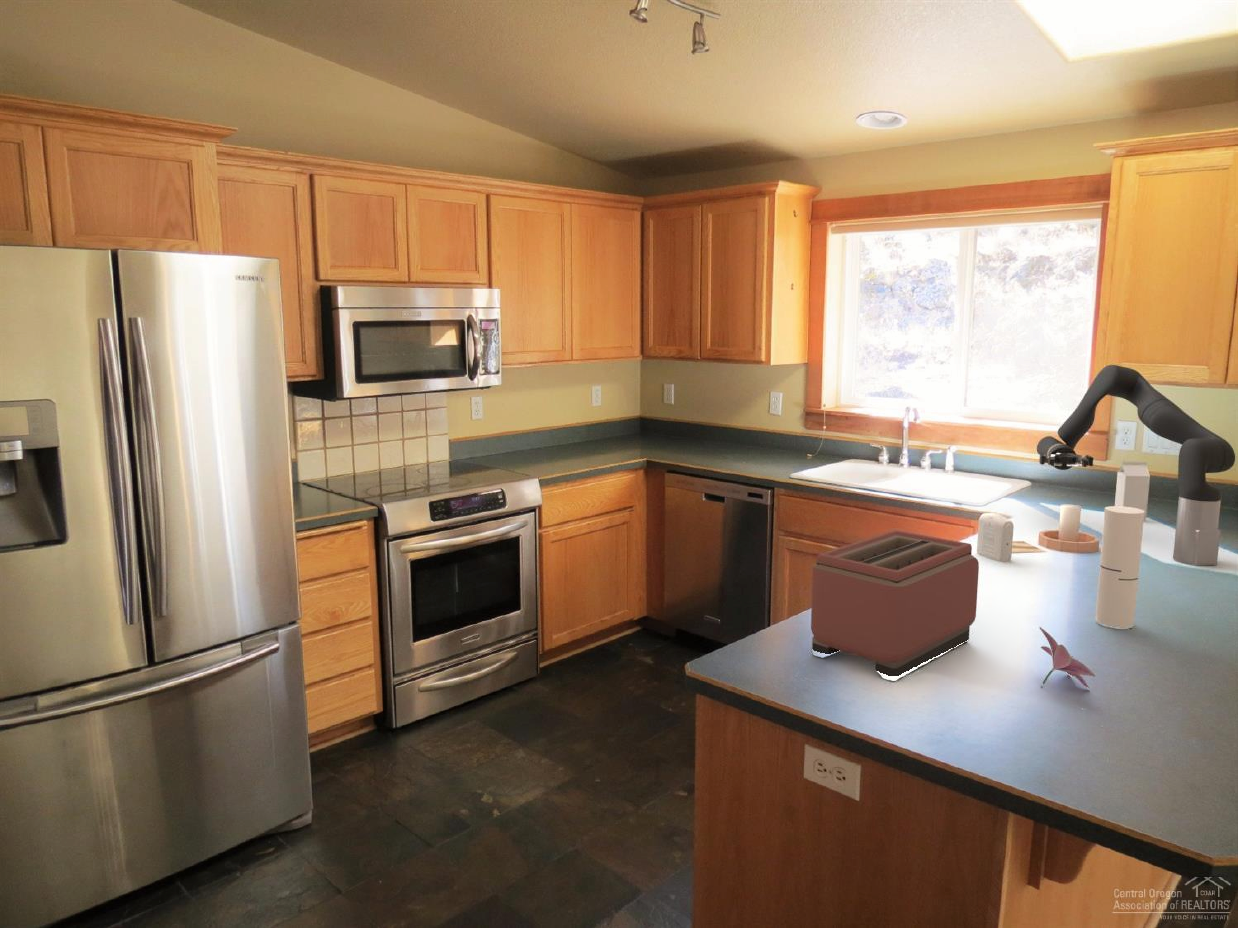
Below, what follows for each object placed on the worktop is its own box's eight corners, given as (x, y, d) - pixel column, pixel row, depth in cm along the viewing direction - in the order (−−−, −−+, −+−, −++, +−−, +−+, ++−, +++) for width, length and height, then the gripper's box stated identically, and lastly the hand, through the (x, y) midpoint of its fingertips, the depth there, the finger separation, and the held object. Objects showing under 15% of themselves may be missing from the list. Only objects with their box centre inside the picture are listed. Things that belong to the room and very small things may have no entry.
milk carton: (1145, 522, 271) (1151, 463, 268) (1121, 521, 272) (1126, 463, 269) (1137, 517, 278) (1142, 460, 275) (1113, 516, 279) (1118, 459, 276)
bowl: (1110, 552, 236) (1110, 542, 235) (1058, 554, 234) (1058, 543, 234) (1076, 539, 251) (1077, 529, 250) (1027, 540, 249) (1028, 530, 249)
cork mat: (1046, 553, 236) (1046, 551, 236) (1005, 554, 235) (1005, 553, 235) (1022, 542, 248) (1023, 541, 248) (983, 543, 247) (983, 542, 247)
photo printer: (1013, 562, 227) (1016, 517, 225) (1000, 563, 226) (1003, 518, 224) (986, 552, 237) (989, 509, 235) (974, 553, 236) (976, 510, 234)
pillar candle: (1082, 545, 240) (1085, 507, 238) (1064, 546, 240) (1067, 508, 238) (1071, 541, 245) (1074, 504, 244) (1053, 541, 245) (1056, 504, 243)
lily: (1091, 712, 142) (1117, 661, 142) (1022, 677, 145) (1047, 627, 146) (1072, 704, 154) (1095, 657, 154) (1008, 671, 157) (1031, 625, 157)
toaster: (985, 636, 175) (991, 539, 171) (894, 686, 151) (899, 575, 147) (899, 613, 189) (903, 524, 185) (804, 656, 165) (807, 554, 161)
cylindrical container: (1098, 615, 185) (1108, 504, 181) (1136, 622, 181) (1147, 509, 177) (1092, 624, 180) (1101, 510, 176) (1130, 632, 175) (1141, 515, 171)
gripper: (1036, 443, 266) (1043, 449, 251) (1087, 445, 261) (1097, 451, 246) (1035, 467, 267) (1041, 474, 252) (1086, 469, 262) (1095, 476, 247)
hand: (1069, 463), depth 249 cm, fingers open, 8 cm apart
